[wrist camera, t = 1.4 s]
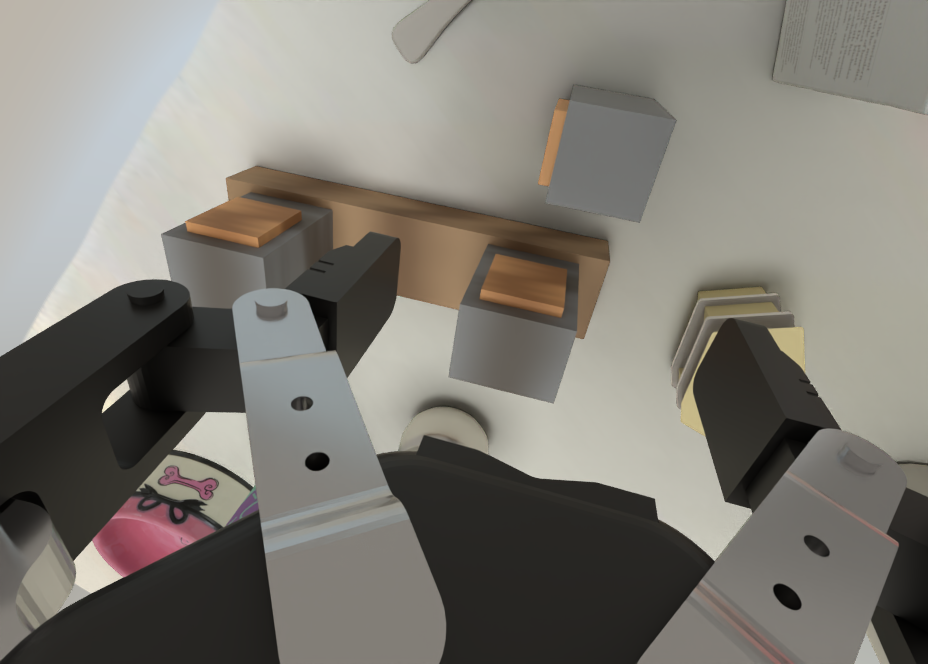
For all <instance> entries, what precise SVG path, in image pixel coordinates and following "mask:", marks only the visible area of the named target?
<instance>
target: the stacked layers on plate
mask: <svg viewBox="0 0 928 664" xmlns="http://www.w3.org/2000/svg"><path fill="white" fill-rule="evenodd" d="M729 318H735V319H739V320H743V321H747V322H751V323H756V324H760V325H764V326H766V327H767V329H768V330H769V332H770V334H771V335H772V337H773V338H774V340H775V342H776V343H777V345H778V347H779V348H780V350H781V351H783V352H784V353H785V354H787V355H788V356H789V357H790V358H791V359H792V360H794V361H795V362H796V363H797V364H798V365H799V366H801V368H802V370H803V371H804V373H805V356H804V329H803V328H802V327H794V315H793V314H792V313H791V312H790V311H786V312H781V307H780V296H779V295H778V294H777V293H768V294H766V293H765V291H764V290H763V288H762V287H751V288H738V289H725V290H711V291H698V301H697V303H696V306H695V308H694V311H693V313H692V316H691V318H690V321H689V323H688V326H687V328H686V331H685V333H684V335H683V338H682V340H681V343H680V345H679V348H678V350H677V353H676V355H675V358H674V360H673V363H672V365H671V384H672V386H673V387H675V388H676V389H677V397H676V404H677V407H678V408H679V409H681V422H682V423H683V424H685V425H687V426H688V427H690V428H692V429H693V430H695V431H697V432H699V433H700V434H702V435H704V436H705V432H704V429H703V426H702V422H701V419H700V416H699V412H698V409H697V406H696V402H695V399H694V395H693V382H694V377H695V374H696V372H697V369H698V367H699V366H700V364H701V362H702V360H703V358H704V356H705V355H706V353H707V351H708V349H709V347H710V345H711V344H712V342H713V340H714V338H715V336H716V334H717V333H718V331H719V329H720V327H721V326H722V324H723V323H724V322H725V321H726V320H727V319H729ZM705 437H706V436H705Z"/></svg>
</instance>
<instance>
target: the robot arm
mask: <svg viewBox="0 0 928 664" xmlns="http://www.w3.org/2000/svg"><path fill="white" fill-rule="evenodd" d="M400 253H401V241H400V239H399V238H397V237H392V236H388V235H384V234H380V233H376V232H371V231H370V232H369V233H367V234H366V235H365V236H364V237H363V238H362V239H361V240H360V241H359V242H358V243H356V244H355V245H354V246H349V245H345V246H342V247H339V248H336V249H333V250H330V251H329V252H327V253H326V254H325V255H324V256H323V257H321V258H320V259H319V261H318V262H316V263H314V264H313V265H312V266H311V267H310V269H307V270H306V271H305V272H304V273H303V274H301V275H300V276H299V277H298V278H297V279H296V280H294V281H293V282H292V283H291V284H290V285H288V286H287V287H286V288H285V289H278V288H267V289H260V290H255V291H252V292H249V293H246V294H244V295H242V296H241V297H239V298H238V299H237V300H236V301H235V302H234V304H233V307H232V309H226V308H209V307H192V303H191V297H190V292H189V290H188V289H187V288H186V287H185V286H183V285H182V284H179V283H177V282H173V281H168V280H141V281H135V282H131V283H127V284H124V285H121V286H119V287H116V288H114V289H112V290H111V291H109V292H107V293H106V294H104V295H102V296H101V297H99V298H97V299H96V300H94V301H92V302H91V303H89V304H87V305H86V306H84V307H82V308H81V309H79V310H77V311H76V312H74V313H72V314H71V315H69V316H67V317H66V318H64V319H62V320H61V321H59V322H57V323H56V324H54V325H52V326H51V327H49V328H47V329H46V330H44V331H42V332H41V333H39V334H37V335H36V336H34V337H32V338H31V339H29V340H27V341H26V342H24V343H22V344H21V345H19V346H17V347H16V348H14V349H12V350H11V351H9V352H7V353H6V354H4V355H2V356H1V357H0V664H854V662H855V660H856V657H857V655H858V652H859V649H860V647H861V644H862V642H863V639H864V636H865V634H867V636H868V638H869V640H870V642H871V644H872V647H873V649H874V651H875V653H876V655H877V657H878V659H879V662H880V664H928V465H919V464H897V463H896V462H895V461H894V460H893V459H892V458H891V457H890V456H889V455H888V454H886V453H885V452H884V451H883V450H881V449H880V448H878V447H877V446H875V445H874V444H872V443H870V442H869V441H867V440H865V439H863V438H861V437H859V436H857V435H854V434H852V433H849V432H846V431H842V430H841V428H840V427H839V425H838V424H837V422H836V421H835V419H834V418H833V416H832V415H831V413H830V411H829V410H828V408H827V407H826V405H825V404H824V402H823V401H822V399H821V398H820V397H818V393H817V391H816V390H815V388H814V387H813V385H811V384H810V380H809V379H808V377H807V376H806V374H805V373H804V371H803V370H802V368H801V366H799V365H798V364H797V363H796V362H795V361H794V360H792V359H791V358H790V357H789V356H788V355H787V354H785V353H784V352H783V351H781V350H780V348H779V347H778V345H777V343H776V342H775V340H774V338H773V337H772V335H771V334H770V332H769V330H768V329H767V327H766V326H764V325H760V324H756V323H751V322H747V321H743V320H739V319H735V318H729V319H727V320H726V321H725V322H724V323H723V324H722V326H721V327H720V329H719V331H718V333H717V334H716V336H715V338H714V340H713V342H712V344H711V345H710V347H709V349H708V351H707V353H706V355H705V356H704V358H703V360H702V362H701V364H700V366H699V367H698V369H697V372H696V374H695V377H694V382H693V395H694V399H695V402H696V406H697V409H698V412H699V416H700V419H701V422H702V426H703V429H704V432H705V436H706V439H707V442H708V446H709V449H710V453H711V456H712V459H713V463H714V466H715V469H716V473H717V476H718V479H719V483H720V486H721V490H722V493H723V496H724V500H725V502H728V503H732V504H735V505H739V506H743V507H746V508H750V509H751V510H752V515H751V516H750V517H749V518H748V520H747V521H746V522H745V524H744V525H743V526H742V527H741V529H740V530H739V531H738V532H737V534H736V535H735V536H734V537H733V539H732V540H731V541H730V543H729V544H728V545H727V546H726V548H725V549H724V550H723V551H722V553H721V554H720V555H719V556H718V558H717V559H716V560H715V561H714V560H713V559H712V558H711V557H710V556H709V555H708V554H707V553H706V552H705V551H703V550H702V549H701V548H700V547H699V546H697V545H696V544H695V543H694V542H693V541H692V540H690V539H689V538H687V537H686V536H685V535H683V534H682V533H680V532H679V531H678V530H676V529H674V528H673V527H671V526H669V525H668V524H666V523H664V522H662V521H660V520H658V517H657V510H656V503H655V499H654V498H650V497H647V496H643V495H640V494H636V493H632V492H629V491H625V490H622V489H618V488H614V487H611V486H607V485H603V484H600V483H596V482H581V481H566V480H551V479H539V478H535V477H532V476H529V475H527V474H525V473H523V472H521V471H519V470H517V469H515V468H513V467H511V466H509V465H507V464H505V463H503V462H501V461H499V460H498V459H496V458H494V457H492V456H490V455H488V454H486V453H484V452H482V451H480V450H477V449H473V448H469V447H466V446H462V445H459V444H455V443H451V442H448V441H444V440H440V439H437V438H433V437H430V436H426V435H424V436H423V438H422V441H421V443H420V446H419V448H418V451H395V452H388V453H381V454H377V455H376V453H375V450H374V448H373V445H372V442H371V440H370V437H369V435H368V432H367V429H366V427H365V424H364V421H363V419H362V416H361V414H360V411H359V408H358V406H357V403H356V401H355V398H354V395H353V393H352V390H351V388H350V385H349V382H348V380H347V378H348V376H349V375H350V373H351V372H352V371H353V369H354V368H355V366H356V365H357V363H358V362H359V360H360V359H361V358H362V356H363V355H364V353H365V352H366V350H367V349H368V347H369V346H370V344H371V343H372V342H373V340H374V339H375V337H376V336H377V334H378V333H379V331H380V330H381V329H382V327H383V326H384V324H385V323H386V321H387V320H388V318H389V317H390V315H391V313H392V311H393V308H394V305H395V301H396V296H397V286H398V275H399V264H400ZM126 379H127V381H128V384H129V388H130V390H129V391H128V392H126V393H125V394H124V395H123V396H122V397H121V398H120V399H118V400H117V401H116V402H115V403H114V404H113V405H111V406H110V407H109V408H108V409H107V410H106V411H104V412H103V413H102V409H103V405H104V403H105V401H106V399H107V397H108V396H109V395H110V393H111V392H112V391H113V390H114V389H115V388H117V387H118V386H119V385H120V384H121V383H123V382H124V381H125V380H126ZM206 412H236V413H246V417H247V425H248V432H249V440H250V447H251V455H252V462H253V470H254V477H255V485H256V493H257V500H258V508H259V509H258V510H256V511H255V512H253V513H251V514H249V515H247V516H245V517H243V518H241V519H239V520H237V521H235V522H233V523H231V524H229V525H227V526H225V527H223V528H221V529H219V530H217V531H215V532H213V533H211V534H209V535H207V536H205V537H203V538H201V539H199V540H197V541H195V542H193V543H191V544H189V545H187V546H185V547H183V548H181V549H179V550H177V551H175V552H173V553H171V554H169V555H167V556H165V557H163V558H161V559H159V560H157V561H155V562H153V563H151V564H149V565H147V566H145V567H144V568H142V569H140V570H138V571H136V572H134V573H132V574H130V575H128V576H126V577H124V578H122V579H120V580H118V581H116V582H114V583H112V584H110V585H108V586H106V587H104V588H102V589H100V590H98V591H96V592H94V593H92V594H90V595H88V596H86V597H84V598H83V599H81V600H79V601H77V602H75V603H74V604H72V605H70V606H68V607H66V608H65V609H63V610H62V611H60V612H59V613H57V612H58V611H59V610H60V608H61V607H62V605H63V604H64V602H65V601H66V599H67V598H68V596H69V594H70V592H71V590H72V588H73V585H74V582H75V577H76V568H75V564H74V562H73V561H74V560H75V559H76V557H77V556H78V555H79V554H80V553H81V552H82V551H83V550H84V548H85V547H86V546H87V545H88V544H89V543H90V542H91V541H92V540H93V538H94V537H95V536H96V535H97V534H98V533H99V532H100V531H101V529H102V528H103V527H104V526H105V525H106V524H107V523H108V522H109V521H110V519H111V518H112V517H113V516H114V515H115V514H116V513H117V512H118V510H119V509H120V508H121V507H122V506H123V505H124V504H125V503H126V501H127V500H128V499H129V498H130V497H131V496H132V495H133V494H134V493H135V491H136V490H137V489H138V488H139V487H140V486H141V485H142V484H143V482H144V481H145V480H146V479H147V478H148V477H149V476H150V475H151V474H152V472H153V471H154V470H155V469H156V468H157V467H158V466H159V465H160V463H161V462H162V461H163V460H164V459H165V458H166V457H167V456H168V455H169V453H170V452H171V451H172V450H173V449H174V448H175V447H176V446H177V444H178V443H179V442H180V441H181V440H182V439H183V438H184V437H185V435H186V434H187V433H188V432H189V431H190V430H191V429H192V428H193V427H194V425H195V424H196V423H197V422H198V421H199V420H200V419H201V418H202V416H203V415H204V414H205V413H206Z"/></svg>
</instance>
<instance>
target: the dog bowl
mask: <svg viewBox="0 0 928 664" xmlns="http://www.w3.org/2000/svg"><path fill="white" fill-rule="evenodd" d="M252 489H253V487H252V486H251V485H250V484H249V483H247V482H246V481H245V480H243V479H242V478H240V477H239V476H237V475H236V474H234V473H233V472H231V471H229V470H228V469H226V468H224V467H223V466H221V465H219V464H216V463H214V462H212V461H210V460H207V459H205V458H202V457H199V456H196V455H193V454H190V453H186V452H181V451H175V450H172V451H171V452H170V453H169V455H168V456H167V457H166V458H165V459H164V460H163V461H162V462H161V463H160V465H159V466H158V467H157V468H156V469H155V470H154V471H153V472H152V474H151V475H150V476H149V477H148V478H147V479H146V480H145V481H144V482H143V484H142V485H141V486H140V487H139V488H138V489H137V490H136V491H135V493H134V494H133V495H132V496H131V497H130V498H129V499H128V500H127V501H126V503H125V504H124V505H123V506H122V507H121V508H120V509H119V510H118V512H117V513H116V514H115V515H114V516H113V517H112V518H111V519H110V521H109V522H108V523H107V524H106V525H105V526H104V527H103V528H102V529H101V531H100V532H99V533H98V534H97V535H96V536H95V537H94V538H93V540H92V541H93V543H94V546H95V547H96V549H97V551H98V552H99V554H100V555H101V556H102V557H103V559H104V560H105V561H106V562H107V563H108V564H109V565H110V566H111V567H112V568H113V569H114V570H115V571H116V572H118V573H119V574H120V575H121V576H123V577H126V576H128V575H130V574H132V573H134V572H136V571H138V570H140V569H142V568H144V567H145V566H147V565H149V564H151V563H153V562H155V561H157V560H159V559H161V558H163V557H165V556H167V555H169V554H171V553H173V552H175V551H177V550H179V549H181V548H183V547H185V546H187V545H189V544H191V543H193V542H195V541H197V540H199V539H201V538H203V537H205V536H207V535H209V534H211V533H213V532H215V531H217V530H219V529H221V528H223V527H225V526H226V524H227V523H228V522H229V520H230V519H231V518H232V516H233V515H234V514H235V512H236V511H237V509H238V508H239V507H240V505H241V504H242V503H243V501H244V500H245V499H246V497H247V496H248V494H249V493H250V492H251V490H252Z"/></svg>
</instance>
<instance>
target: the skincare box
mask: <svg viewBox="0 0 928 664" xmlns="http://www.w3.org/2000/svg"><path fill="white" fill-rule="evenodd" d="M773 81H775V82H778V83H783V84H787V85H792V86H797V87H802V88H807V89H811V90H815V91H819V92H824V93H828V94H833V95H839V96H843V97H848V98H852V99H857V100H862V101H866V102H871V103H877V104H881V105H888V106H892V107H896V108H900V109H904V110H908V111H912V112H916V113H920V114H924V115H928V0H787V1H786V7H785V13H784V18H783V24H782V29H781V35H780V41H779V47H778V52H777V57H776V63H775V68H774V73H773Z"/></svg>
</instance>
